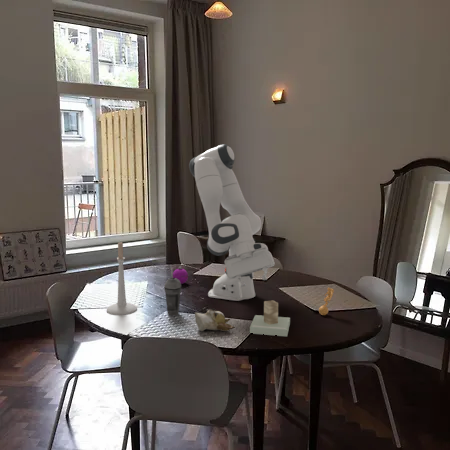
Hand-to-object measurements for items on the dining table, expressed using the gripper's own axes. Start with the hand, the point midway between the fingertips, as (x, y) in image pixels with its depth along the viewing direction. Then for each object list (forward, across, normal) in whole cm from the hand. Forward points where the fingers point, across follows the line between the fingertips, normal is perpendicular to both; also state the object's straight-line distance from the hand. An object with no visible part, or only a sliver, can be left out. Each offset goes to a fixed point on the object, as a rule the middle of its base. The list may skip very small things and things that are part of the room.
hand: (254, 283), depth 197 cm
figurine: (+18, +22, +21) cm, 35 cm away
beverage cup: (+3, -37, -2) cm, 37 cm away
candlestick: (-4, -58, -6) cm, 59 cm away
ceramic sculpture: (+15, -17, -11) cm, 26 cm away
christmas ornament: (-19, -49, +38) cm, 65 cm away
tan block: (+17, +4, -3) cm, 18 cm away
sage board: (+19, +3, -2) cm, 20 cm away
